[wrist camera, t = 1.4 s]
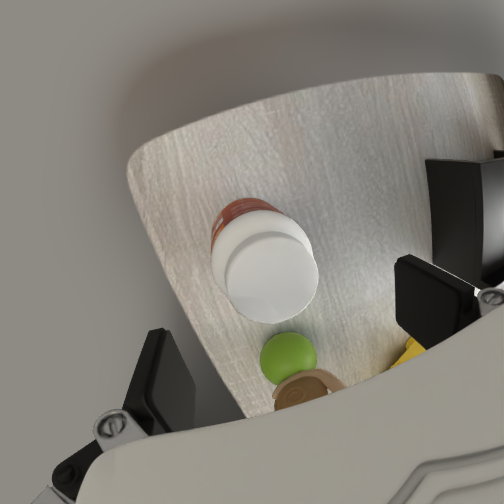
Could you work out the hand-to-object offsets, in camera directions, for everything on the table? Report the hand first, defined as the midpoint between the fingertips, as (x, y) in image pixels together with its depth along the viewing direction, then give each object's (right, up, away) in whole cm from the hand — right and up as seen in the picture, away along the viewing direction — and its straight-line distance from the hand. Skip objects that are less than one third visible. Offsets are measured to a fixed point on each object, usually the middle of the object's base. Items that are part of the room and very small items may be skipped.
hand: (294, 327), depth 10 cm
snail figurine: (+2, -6, +18) cm, 19 cm away
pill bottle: (-2, +4, +14) cm, 15 cm away
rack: (+26, +9, +16) cm, 32 cm away
